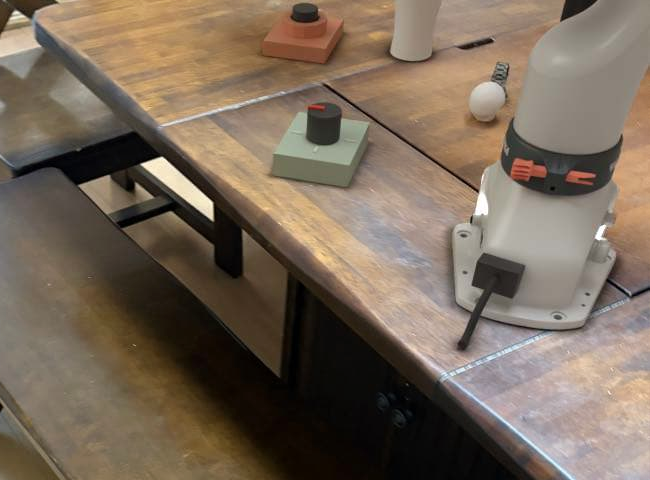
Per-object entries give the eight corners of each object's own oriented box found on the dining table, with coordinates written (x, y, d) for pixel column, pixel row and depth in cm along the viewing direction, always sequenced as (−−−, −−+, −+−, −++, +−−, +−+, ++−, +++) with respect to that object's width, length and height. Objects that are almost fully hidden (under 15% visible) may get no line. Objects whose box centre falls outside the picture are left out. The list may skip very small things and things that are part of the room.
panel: (347, 187, 112) (349, 164, 109) (272, 175, 113) (273, 151, 111) (367, 144, 119) (370, 121, 116) (297, 133, 121) (298, 110, 118)
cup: (372, 63, 135) (383, -37, 124) (382, 36, 141) (393, -61, 131) (440, 70, 133) (457, -30, 123) (447, 43, 140) (463, -55, 129)
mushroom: (499, 129, 121) (507, 92, 118) (464, 125, 122) (471, 89, 118) (501, 113, 124) (509, 77, 121) (467, 109, 125) (474, 73, 121)
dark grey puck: (313, 26, 135) (314, 14, 134) (289, 23, 136) (289, 10, 134) (320, 16, 137) (321, 4, 136) (295, 13, 138) (296, 1, 137)
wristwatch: (482, 106, 129) (486, 90, 124) (494, 72, 128) (499, 55, 123) (502, 112, 128) (507, 96, 123) (514, 77, 128) (520, 60, 123)
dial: (342, 131, 115) (345, 101, 112) (336, 147, 112) (338, 117, 109) (309, 127, 115) (311, 97, 112) (302, 142, 113) (304, 113, 110)
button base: (324, 63, 135) (326, 36, 132) (262, 55, 137) (263, 27, 134) (342, 33, 142) (344, 6, 139) (283, 26, 144) (284, -1, 141)
